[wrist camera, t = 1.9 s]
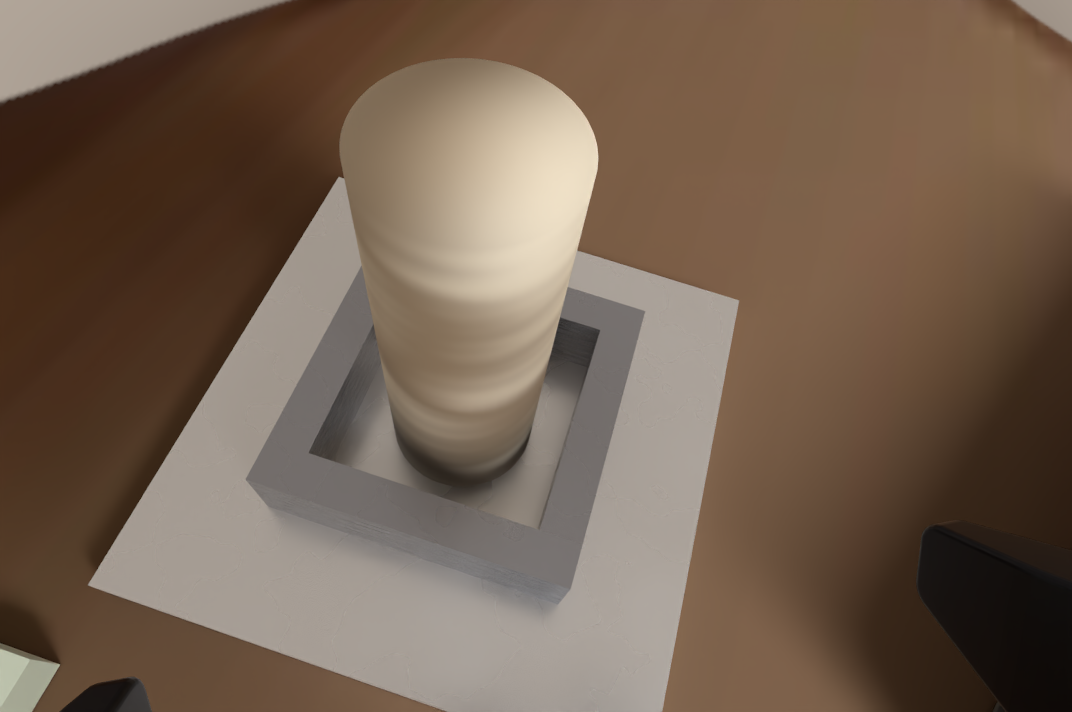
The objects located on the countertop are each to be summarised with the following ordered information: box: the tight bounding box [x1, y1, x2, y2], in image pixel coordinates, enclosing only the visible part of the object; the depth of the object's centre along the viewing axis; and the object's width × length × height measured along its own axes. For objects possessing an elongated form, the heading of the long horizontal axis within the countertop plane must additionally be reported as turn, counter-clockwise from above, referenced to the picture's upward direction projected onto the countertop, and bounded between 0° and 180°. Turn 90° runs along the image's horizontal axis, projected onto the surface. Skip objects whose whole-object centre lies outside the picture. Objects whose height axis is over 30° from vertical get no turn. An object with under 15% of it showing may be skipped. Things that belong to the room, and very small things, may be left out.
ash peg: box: [339, 58, 598, 487], centre depth 17 cm, size 4×4×12 cm
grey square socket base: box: [88, 177, 739, 712], centre depth 22 cm, size 16×16×4 cm
